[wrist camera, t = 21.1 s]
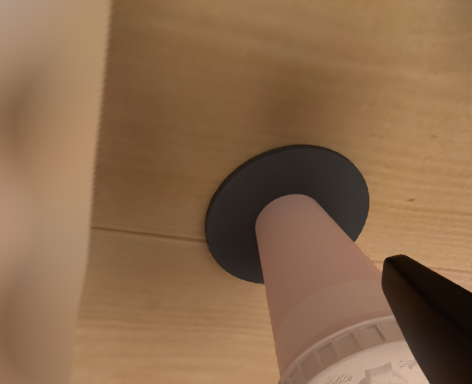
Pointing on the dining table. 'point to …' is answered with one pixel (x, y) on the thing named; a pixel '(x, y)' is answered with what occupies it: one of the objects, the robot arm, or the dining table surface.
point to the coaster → (275, 186)
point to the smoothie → (327, 302)
